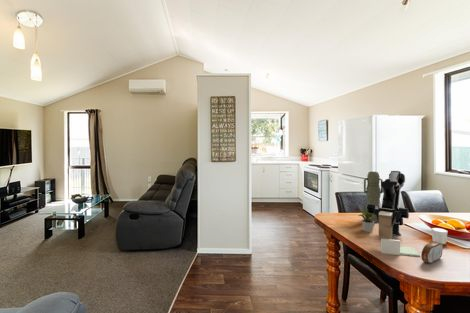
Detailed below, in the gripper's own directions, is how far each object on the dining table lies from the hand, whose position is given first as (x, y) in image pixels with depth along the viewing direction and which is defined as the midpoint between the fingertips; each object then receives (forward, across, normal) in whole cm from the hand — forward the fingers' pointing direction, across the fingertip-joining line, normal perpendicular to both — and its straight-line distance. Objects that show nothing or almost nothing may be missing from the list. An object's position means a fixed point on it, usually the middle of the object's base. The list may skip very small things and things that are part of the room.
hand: (385, 224), depth 127 cm
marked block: (+4, 0, -6) cm, 7 cm away
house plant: (-8, +12, -27) cm, 31 cm away
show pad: (+7, -9, -12) cm, 16 cm away
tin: (+10, -19, -9) cm, 24 cm away
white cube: (-10, -22, -30) cm, 38 cm away
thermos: (-25, +15, -44) cm, 53 cm away
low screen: (+12, -3, -7) cm, 14 cm away
